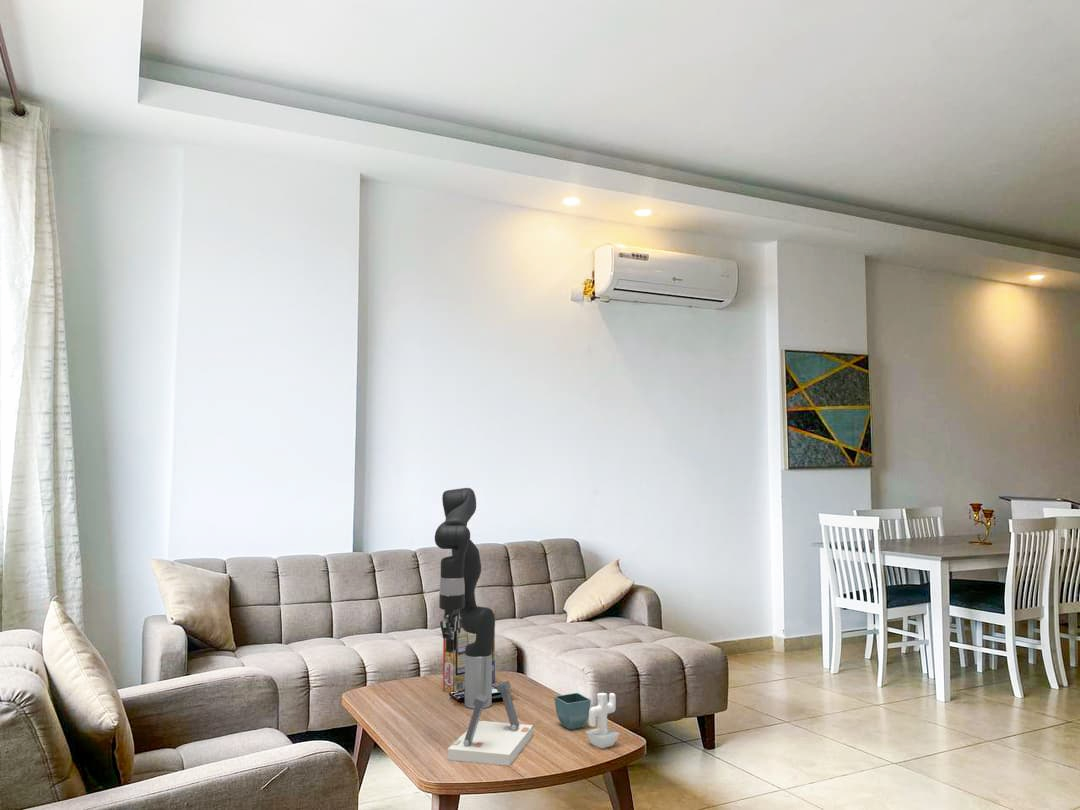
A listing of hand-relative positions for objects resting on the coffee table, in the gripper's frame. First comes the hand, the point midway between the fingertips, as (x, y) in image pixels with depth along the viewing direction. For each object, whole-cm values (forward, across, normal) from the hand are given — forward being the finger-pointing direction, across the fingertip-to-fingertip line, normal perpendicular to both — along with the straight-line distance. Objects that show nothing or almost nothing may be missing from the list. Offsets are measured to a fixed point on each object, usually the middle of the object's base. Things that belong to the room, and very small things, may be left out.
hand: (451, 650), depth 247 cm
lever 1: (+24, +8, +8) cm, 27 cm away
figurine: (+27, -10, +44) cm, 53 cm away
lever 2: (+24, -8, +18) cm, 31 cm away
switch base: (+27, 0, +13) cm, 30 cm away
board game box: (+27, -58, -14) cm, 66 cm away
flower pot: (+27, -24, +32) cm, 48 cm away
